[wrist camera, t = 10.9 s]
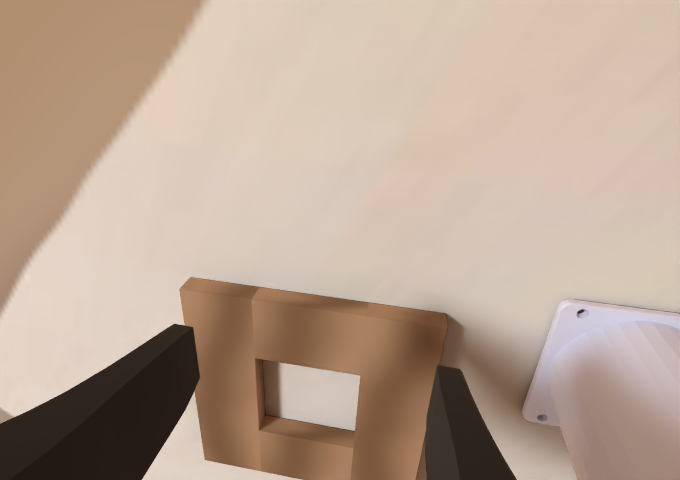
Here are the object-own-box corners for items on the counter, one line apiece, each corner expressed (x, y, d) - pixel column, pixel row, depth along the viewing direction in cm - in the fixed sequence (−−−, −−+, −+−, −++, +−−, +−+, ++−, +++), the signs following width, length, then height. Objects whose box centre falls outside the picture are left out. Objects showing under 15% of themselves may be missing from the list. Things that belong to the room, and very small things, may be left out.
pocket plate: (446, 313, 22) (447, 328, 21) (411, 483, 28) (411, 501, 27) (190, 277, 24) (179, 289, 23) (212, 444, 30) (204, 460, 29)
